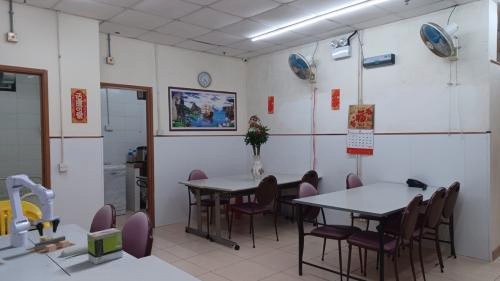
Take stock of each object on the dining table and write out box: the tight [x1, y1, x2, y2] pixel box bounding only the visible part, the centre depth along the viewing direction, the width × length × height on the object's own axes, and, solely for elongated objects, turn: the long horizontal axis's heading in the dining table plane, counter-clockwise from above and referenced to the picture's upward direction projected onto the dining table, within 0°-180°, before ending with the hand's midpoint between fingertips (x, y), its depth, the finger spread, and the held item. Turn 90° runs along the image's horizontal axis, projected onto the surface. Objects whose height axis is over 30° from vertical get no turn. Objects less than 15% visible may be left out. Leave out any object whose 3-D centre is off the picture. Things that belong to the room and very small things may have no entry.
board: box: [25, 242, 77, 255], centre depth 209 cm, size 18×20×2 cm
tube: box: [60, 243, 88, 260], centre depth 201 cm, size 5×5×25 cm
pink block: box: [45, 244, 57, 253], centre depth 203 cm, size 4×4×3 cm
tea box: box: [86, 227, 124, 265], centre depth 192 cm, size 15×10×15 cm, turn 134°
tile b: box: [59, 239, 70, 249], centre depth 210 cm, size 4×4×3 cm
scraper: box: [34, 235, 66, 251], centre depth 211 cm, size 9×17×5 cm, turn 149°
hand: (47, 234), depth 206 cm, fingers open, 7 cm apart
